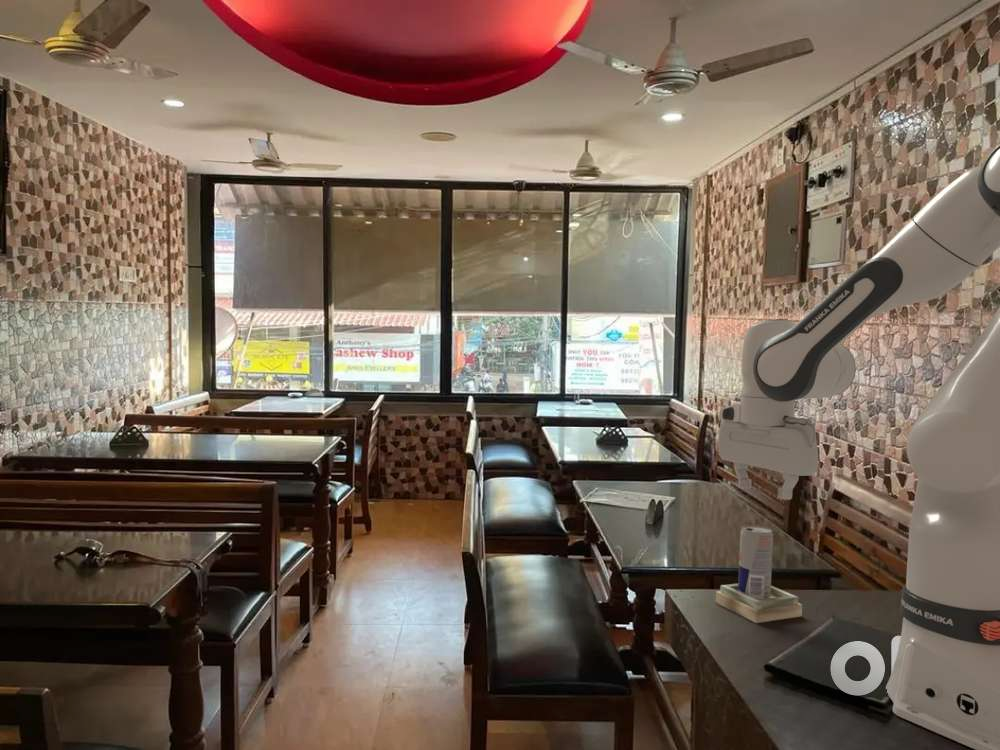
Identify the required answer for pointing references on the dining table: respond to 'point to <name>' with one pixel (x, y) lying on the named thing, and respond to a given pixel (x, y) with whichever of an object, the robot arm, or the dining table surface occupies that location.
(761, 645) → the dining table surface
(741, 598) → the plinth
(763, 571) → the energy drink
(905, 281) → the robot arm
